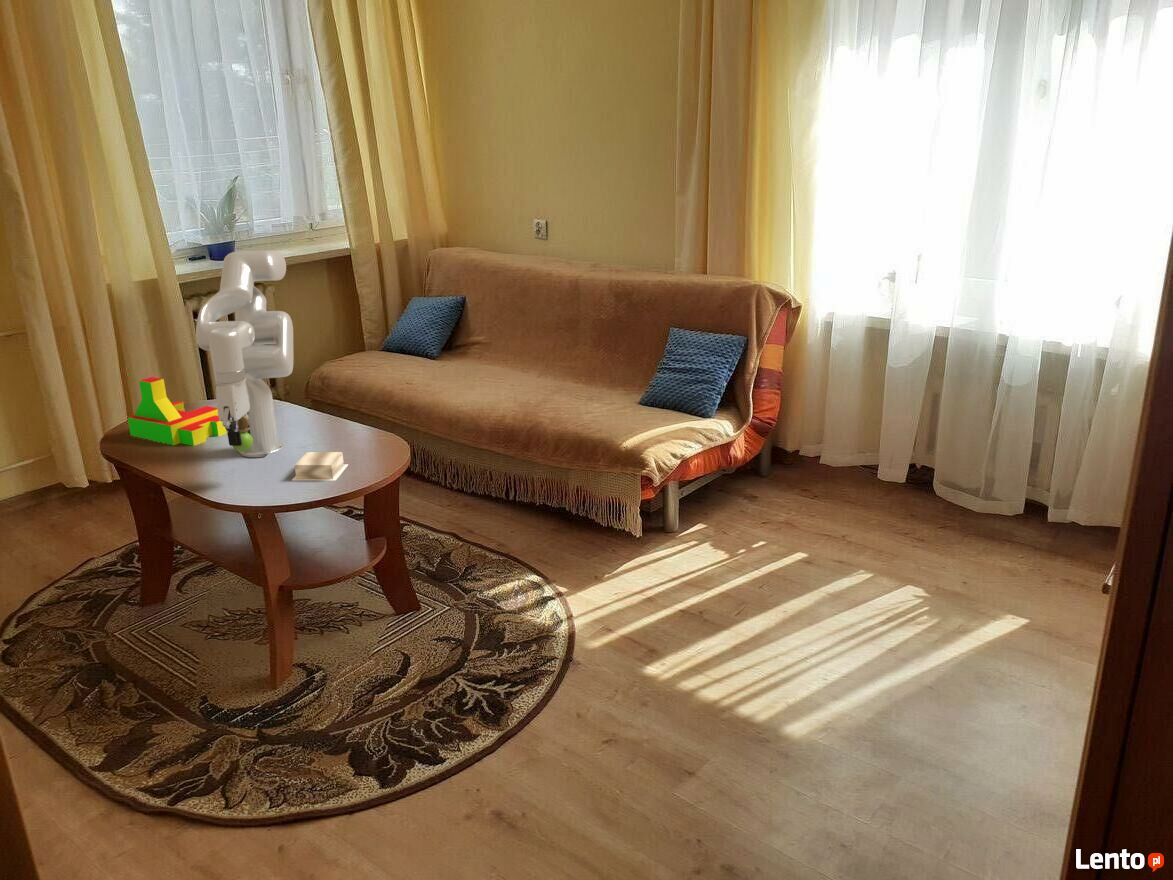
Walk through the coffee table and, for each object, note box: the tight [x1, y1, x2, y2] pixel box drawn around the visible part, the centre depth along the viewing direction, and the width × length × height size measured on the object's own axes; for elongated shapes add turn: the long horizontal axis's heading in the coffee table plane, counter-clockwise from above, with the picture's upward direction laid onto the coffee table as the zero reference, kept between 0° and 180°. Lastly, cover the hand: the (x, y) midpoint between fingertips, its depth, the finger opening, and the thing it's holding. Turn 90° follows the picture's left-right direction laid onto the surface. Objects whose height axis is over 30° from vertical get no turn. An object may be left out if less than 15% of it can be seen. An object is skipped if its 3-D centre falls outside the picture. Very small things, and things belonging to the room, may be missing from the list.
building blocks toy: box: [127, 376, 227, 447], centre depth 287 cm, size 19×25×18 cm
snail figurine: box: [230, 415, 253, 453], centre depth 246 cm, size 5×6×12 cm
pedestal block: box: [294, 451, 345, 479], centre depth 253 cm, size 10×10×4 cm
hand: (240, 440), depth 247 cm, fingers closed on snail figurine, 5 cm apart
